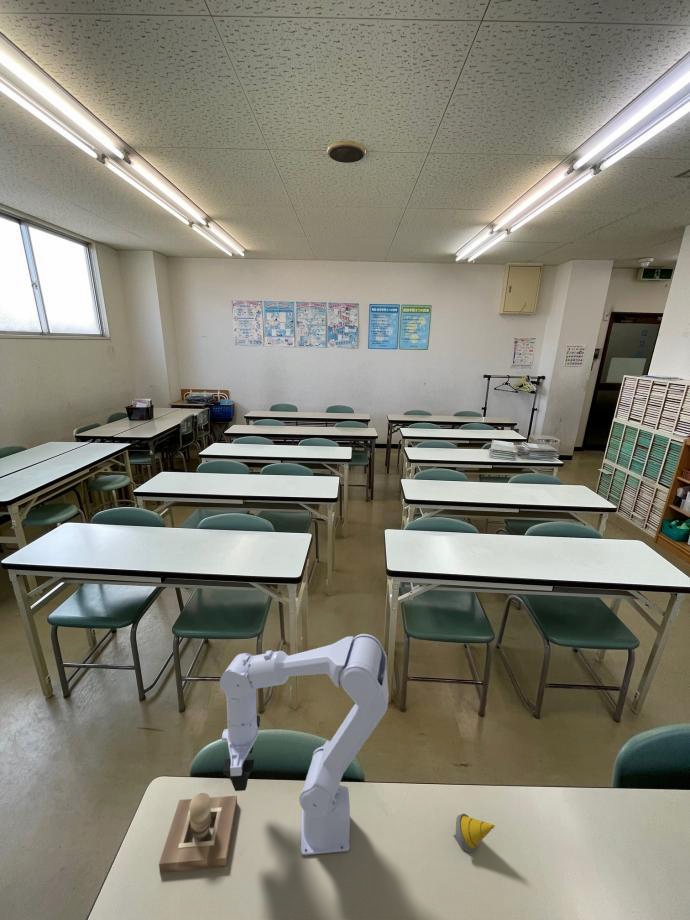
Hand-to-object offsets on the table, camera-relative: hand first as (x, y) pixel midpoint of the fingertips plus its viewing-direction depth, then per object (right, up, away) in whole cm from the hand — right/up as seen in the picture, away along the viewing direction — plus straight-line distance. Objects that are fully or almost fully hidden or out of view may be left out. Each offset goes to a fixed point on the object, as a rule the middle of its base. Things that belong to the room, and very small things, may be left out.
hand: (243, 769), depth 78 cm
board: (-8, -11, -3) cm, 14 cm away
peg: (-8, -11, -3) cm, 14 cm away
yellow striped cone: (+46, -12, -3) cm, 48 cm away
